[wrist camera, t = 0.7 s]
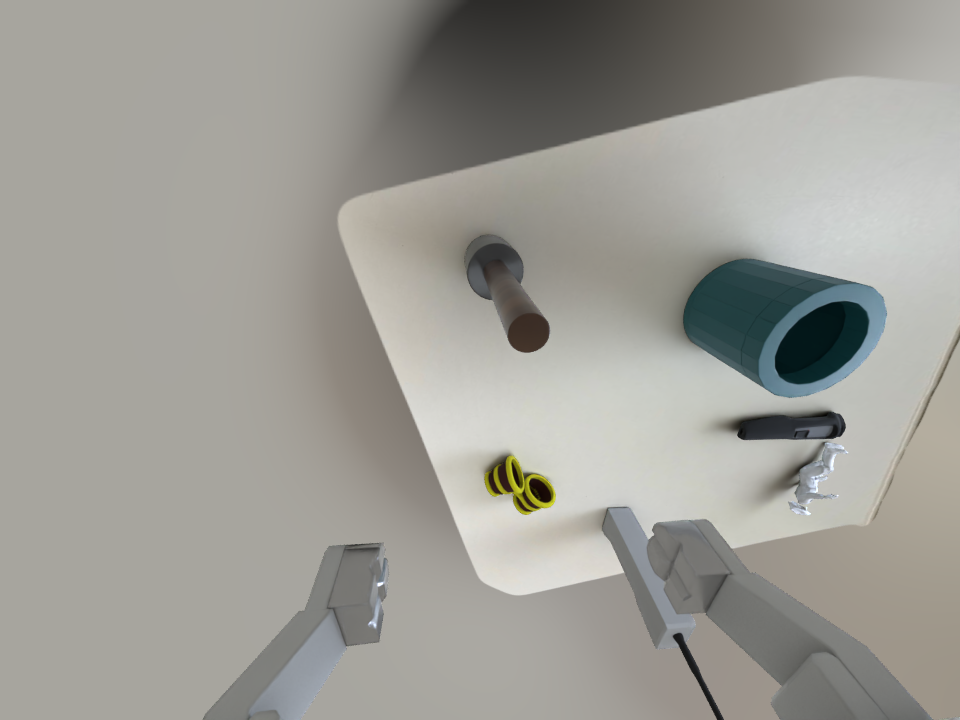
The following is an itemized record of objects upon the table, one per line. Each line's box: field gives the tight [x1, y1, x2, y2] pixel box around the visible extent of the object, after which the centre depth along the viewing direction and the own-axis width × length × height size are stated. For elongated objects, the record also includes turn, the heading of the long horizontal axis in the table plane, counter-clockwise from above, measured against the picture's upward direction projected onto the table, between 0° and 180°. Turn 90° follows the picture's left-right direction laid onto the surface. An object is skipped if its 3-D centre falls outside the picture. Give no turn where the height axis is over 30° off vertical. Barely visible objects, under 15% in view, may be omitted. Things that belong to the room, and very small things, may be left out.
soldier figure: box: [788, 443, 848, 515], centre depth 52 cm, size 8×5×12 cm
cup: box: [684, 259, 887, 398], centre depth 35 cm, size 11×11×11 cm
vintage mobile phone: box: [602, 507, 724, 720], centre depth 44 cm, size 4×5×25 cm
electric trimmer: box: [737, 412, 846, 440], centre depth 47 cm, size 4×16×3 cm, turn 89°
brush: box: [465, 235, 550, 353], centre depth 26 cm, size 5×5×20 cm
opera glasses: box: [484, 456, 556, 515], centre depth 47 cm, size 10×5×5 cm, turn 47°
